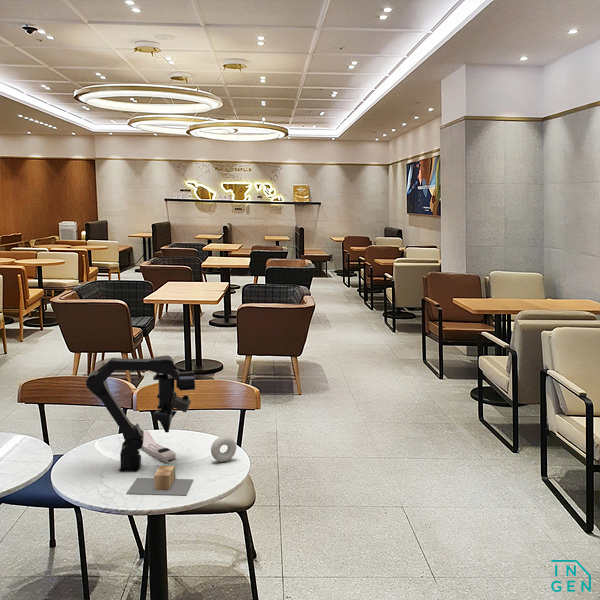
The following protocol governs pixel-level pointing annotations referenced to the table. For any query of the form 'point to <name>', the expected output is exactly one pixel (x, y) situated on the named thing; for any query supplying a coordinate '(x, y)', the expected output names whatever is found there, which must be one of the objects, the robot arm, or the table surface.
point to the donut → (217, 445)
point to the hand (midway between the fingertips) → (167, 432)
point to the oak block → (164, 477)
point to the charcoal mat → (147, 488)
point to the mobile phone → (157, 449)
